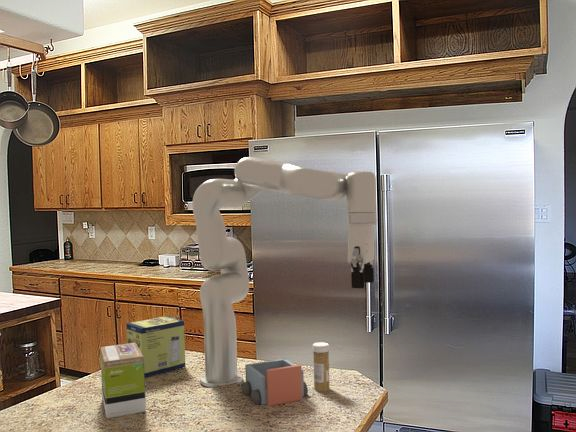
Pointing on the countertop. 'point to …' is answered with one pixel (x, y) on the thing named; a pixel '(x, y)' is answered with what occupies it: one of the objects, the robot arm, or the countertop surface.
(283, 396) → the panel
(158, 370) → the protein box
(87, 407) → the countertop surface
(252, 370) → the box
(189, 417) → the countertop surface
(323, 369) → the sprinkles bottle
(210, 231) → the robot arm
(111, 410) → the tea box
